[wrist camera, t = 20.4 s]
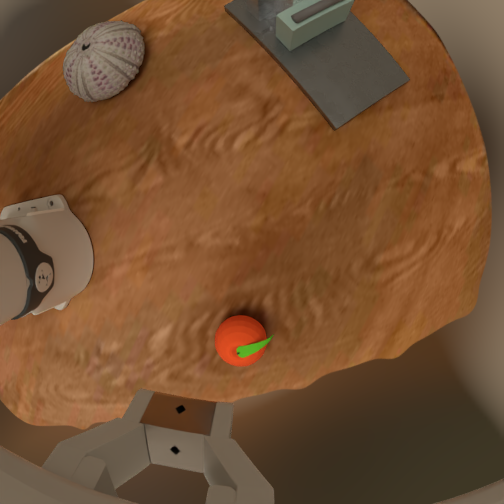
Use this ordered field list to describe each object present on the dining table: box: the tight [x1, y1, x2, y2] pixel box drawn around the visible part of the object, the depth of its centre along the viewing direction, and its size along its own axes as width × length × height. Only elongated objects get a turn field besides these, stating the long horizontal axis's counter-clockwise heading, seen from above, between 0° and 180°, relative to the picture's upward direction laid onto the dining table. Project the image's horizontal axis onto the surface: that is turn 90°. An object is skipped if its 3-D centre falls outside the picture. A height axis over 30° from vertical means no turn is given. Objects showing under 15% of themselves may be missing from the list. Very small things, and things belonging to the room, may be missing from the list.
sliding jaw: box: [276, 0, 355, 51], centre depth 30 cm, size 3×10×7 cm, turn 127°
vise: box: [224, 0, 410, 131], centre depth 32 cm, size 24×14×8 cm, turn 37°
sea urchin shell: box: [63, 20, 145, 102], centre depth 34 cm, size 13×14×8 cm
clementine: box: [215, 315, 274, 366], centre depth 41 cm, size 8×7×7 cm
